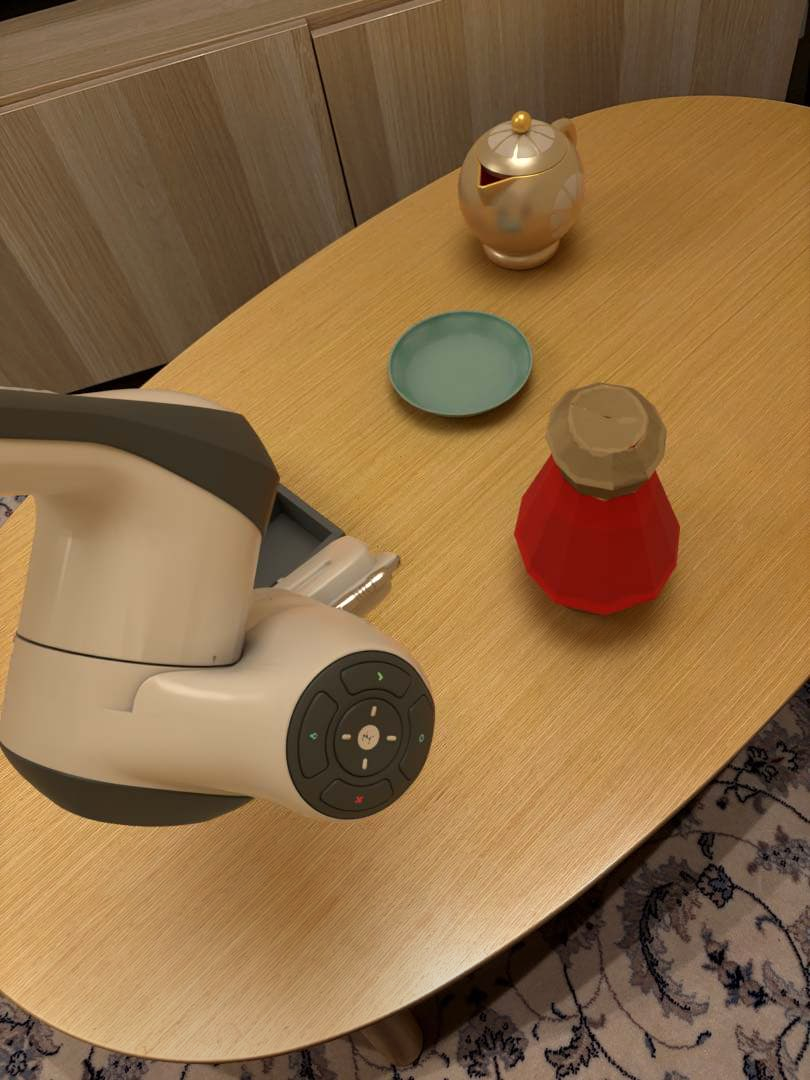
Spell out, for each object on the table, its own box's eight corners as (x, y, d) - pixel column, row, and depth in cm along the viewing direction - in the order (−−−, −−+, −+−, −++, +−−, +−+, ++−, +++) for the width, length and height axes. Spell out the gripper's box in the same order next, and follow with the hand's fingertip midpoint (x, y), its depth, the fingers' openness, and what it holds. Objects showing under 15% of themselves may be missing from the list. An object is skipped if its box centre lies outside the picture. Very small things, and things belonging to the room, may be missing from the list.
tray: (205, 700, 73) (187, 677, 69) (85, 582, 81) (63, 556, 77) (353, 560, 79) (344, 531, 75) (228, 463, 87) (214, 432, 83)
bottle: (683, 645, 71) (734, 507, 55) (518, 650, 73) (518, 517, 56) (657, 491, 80) (693, 330, 63) (510, 498, 81) (507, 343, 64)
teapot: (534, 307, 94) (537, 173, 81) (435, 264, 100) (422, 132, 86) (620, 215, 101) (636, 77, 87) (522, 180, 107) (523, 45, 93)
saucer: (561, 366, 89) (562, 347, 87) (470, 456, 84) (468, 438, 82) (452, 308, 96) (451, 289, 94) (362, 389, 91) (358, 371, 89)
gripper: (382, 515, 51) (315, 512, 64) (86, 741, 46) (78, 688, 58) (438, 599, 53) (362, 579, 66) (159, 827, 47) (135, 757, 60)
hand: (226, 632), depth 62 cm, fingers open, 8 cm apart
